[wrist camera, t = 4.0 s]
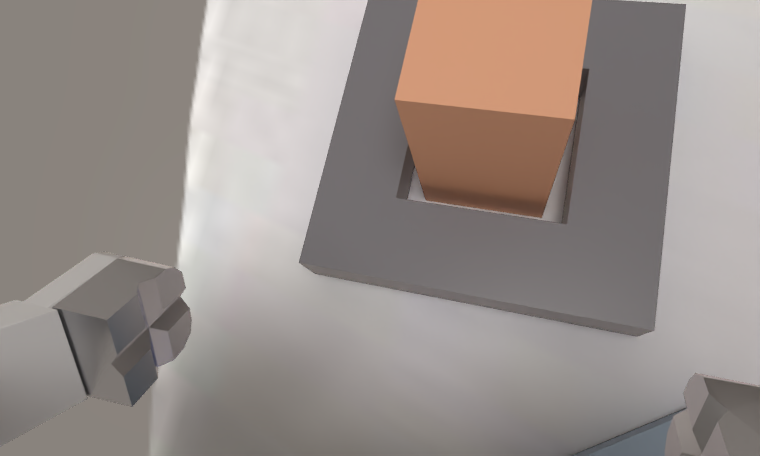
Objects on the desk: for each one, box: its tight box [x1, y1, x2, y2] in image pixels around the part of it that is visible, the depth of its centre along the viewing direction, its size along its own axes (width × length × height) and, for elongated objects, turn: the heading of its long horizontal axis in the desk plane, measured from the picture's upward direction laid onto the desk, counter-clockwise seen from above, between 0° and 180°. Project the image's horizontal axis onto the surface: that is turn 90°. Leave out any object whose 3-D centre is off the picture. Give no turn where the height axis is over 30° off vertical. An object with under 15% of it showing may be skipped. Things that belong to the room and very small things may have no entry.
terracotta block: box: [395, 0, 592, 218], centre depth 18 cm, size 4×4×8 cm
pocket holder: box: [299, 0, 686, 336], centre depth 21 cm, size 12×12×2 cm
